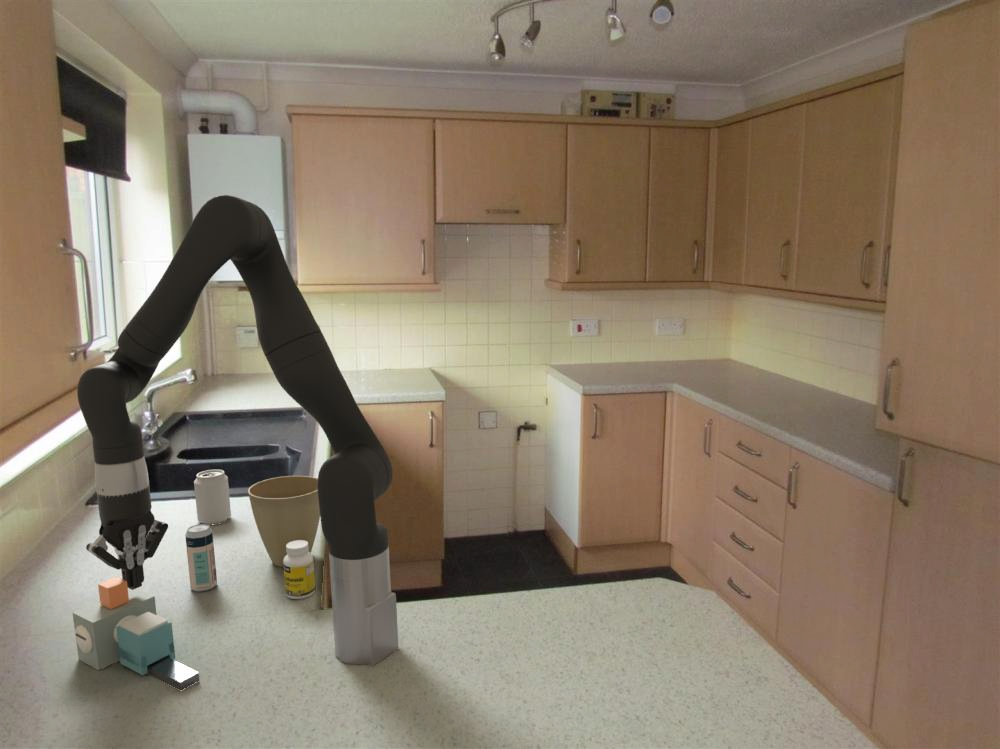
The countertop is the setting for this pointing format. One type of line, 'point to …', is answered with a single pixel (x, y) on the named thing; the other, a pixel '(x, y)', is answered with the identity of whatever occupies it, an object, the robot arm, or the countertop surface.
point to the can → (212, 497)
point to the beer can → (201, 557)
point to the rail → (173, 673)
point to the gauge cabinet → (107, 628)
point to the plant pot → (285, 512)
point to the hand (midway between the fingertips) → (134, 586)
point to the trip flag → (113, 592)
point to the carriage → (145, 641)
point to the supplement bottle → (298, 570)
